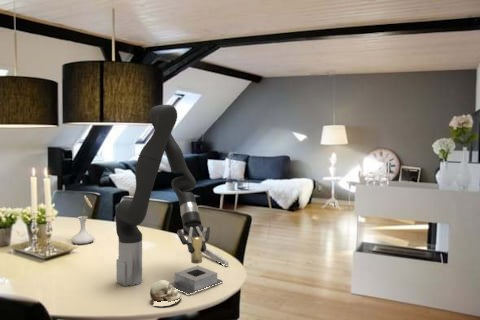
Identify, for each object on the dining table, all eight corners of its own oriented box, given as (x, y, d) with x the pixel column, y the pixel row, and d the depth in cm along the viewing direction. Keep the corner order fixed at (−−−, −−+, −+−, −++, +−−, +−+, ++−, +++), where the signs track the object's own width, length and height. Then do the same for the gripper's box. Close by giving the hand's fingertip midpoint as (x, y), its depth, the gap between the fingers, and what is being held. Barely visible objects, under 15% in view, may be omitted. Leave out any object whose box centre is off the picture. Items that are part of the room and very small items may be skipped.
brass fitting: (196, 264, 159) (196, 239, 159) (188, 261, 162) (189, 237, 161) (204, 261, 163) (204, 237, 162) (197, 259, 166) (197, 235, 165)
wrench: (224, 273, 185) (188, 249, 207) (227, 272, 186) (191, 248, 208) (226, 256, 184) (190, 234, 206) (229, 256, 185) (193, 234, 207)
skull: (181, 289, 156) (182, 277, 149) (180, 316, 149) (180, 304, 142) (150, 289, 155) (148, 276, 147) (147, 316, 148) (145, 304, 140)
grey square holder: (188, 296, 153) (188, 283, 152) (168, 286, 161) (169, 274, 160) (222, 283, 166) (222, 271, 165) (202, 275, 174) (203, 263, 173)
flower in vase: (89, 245, 211) (89, 198, 209) (67, 245, 211) (67, 197, 209) (98, 238, 224) (98, 194, 222) (78, 238, 224) (77, 193, 222)
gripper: (175, 211, 165) (182, 249, 155) (208, 209, 170) (217, 245, 160) (172, 221, 170) (178, 258, 160) (204, 218, 176) (213, 254, 166)
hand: (198, 251), depth 160 cm, fingers closed on brass fitting, 4 cm apart
